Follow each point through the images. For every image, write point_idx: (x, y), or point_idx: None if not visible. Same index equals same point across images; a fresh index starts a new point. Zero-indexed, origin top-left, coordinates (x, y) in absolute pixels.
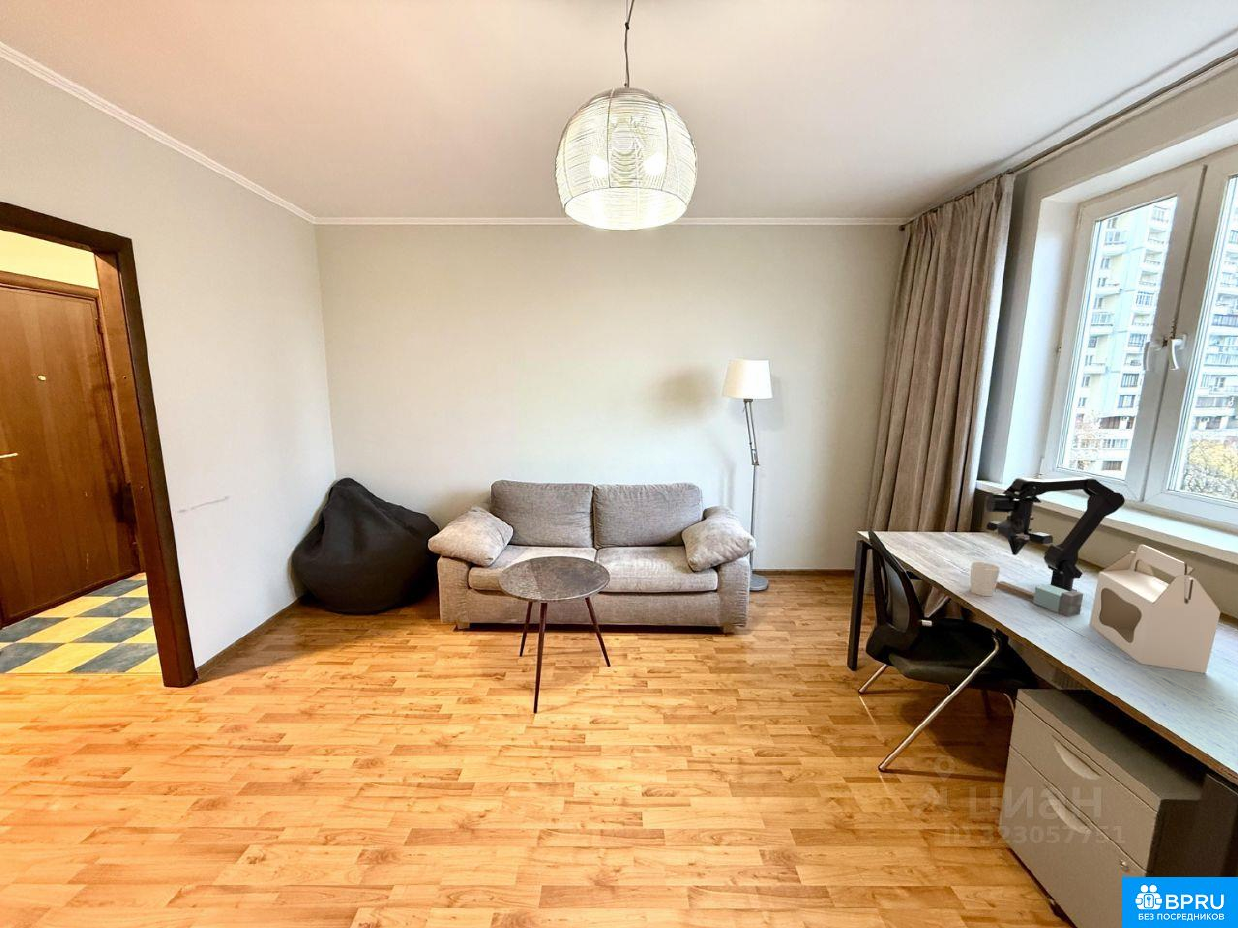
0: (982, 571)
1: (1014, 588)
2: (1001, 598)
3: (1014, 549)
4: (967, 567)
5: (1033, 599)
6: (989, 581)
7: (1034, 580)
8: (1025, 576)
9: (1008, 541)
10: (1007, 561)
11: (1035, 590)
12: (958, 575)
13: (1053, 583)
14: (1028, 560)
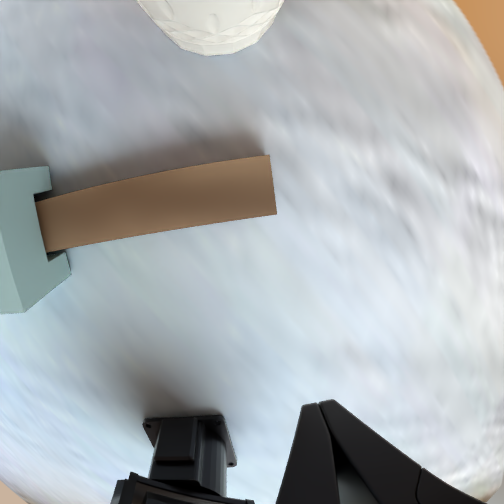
0: None
1: (153, 175)
2: (127, 49)
3: (325, 454)
4: (491, 263)
5: (38, 167)
6: None
7: (294, 431)
8: None
9: (477, 499)
10: (441, 453)
11: (3, 171)
12: (440, 106)
13: (181, 435)
14: None
